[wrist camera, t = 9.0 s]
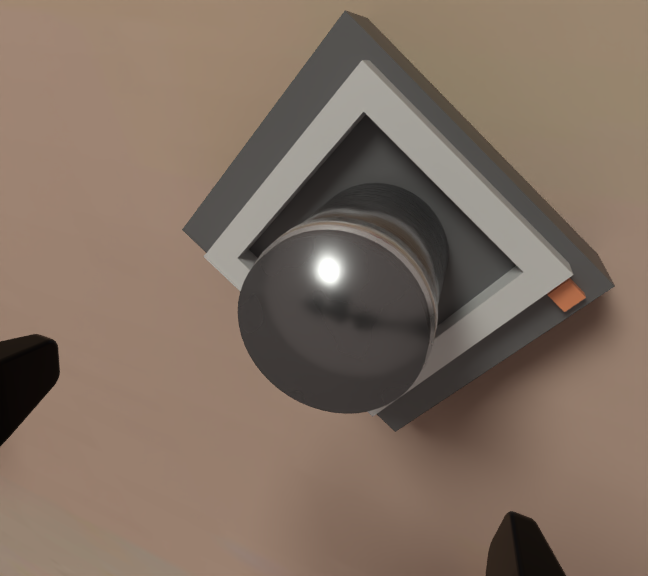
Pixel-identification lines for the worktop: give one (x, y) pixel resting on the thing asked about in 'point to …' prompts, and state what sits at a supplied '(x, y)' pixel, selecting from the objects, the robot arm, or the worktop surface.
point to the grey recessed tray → (422, 180)
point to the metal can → (348, 300)
